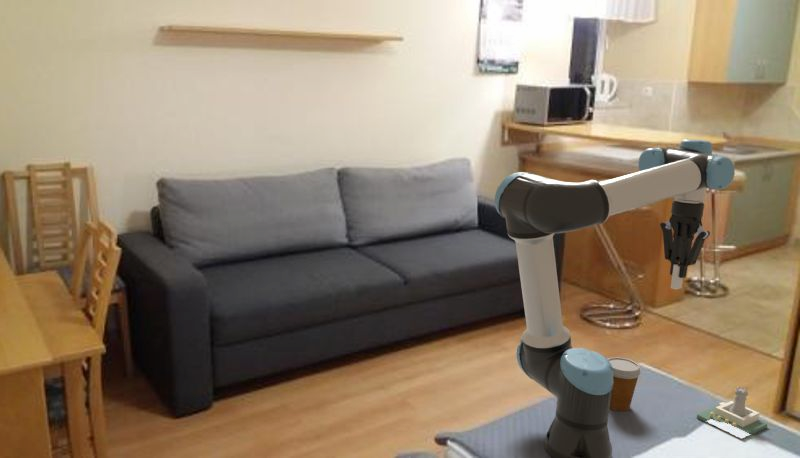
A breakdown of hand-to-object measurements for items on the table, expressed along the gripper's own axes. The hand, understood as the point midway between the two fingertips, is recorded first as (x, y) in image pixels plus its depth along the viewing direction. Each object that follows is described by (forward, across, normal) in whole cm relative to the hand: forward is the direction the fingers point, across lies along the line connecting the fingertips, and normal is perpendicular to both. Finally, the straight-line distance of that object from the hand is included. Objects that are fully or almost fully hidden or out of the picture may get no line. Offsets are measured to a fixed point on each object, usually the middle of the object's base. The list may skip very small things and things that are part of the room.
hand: (675, 288), depth 171 cm
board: (+32, -17, -6) cm, 37 cm away
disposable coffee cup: (+33, +4, +13) cm, 35 cm away
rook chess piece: (+32, -17, -8) cm, 37 cm away
